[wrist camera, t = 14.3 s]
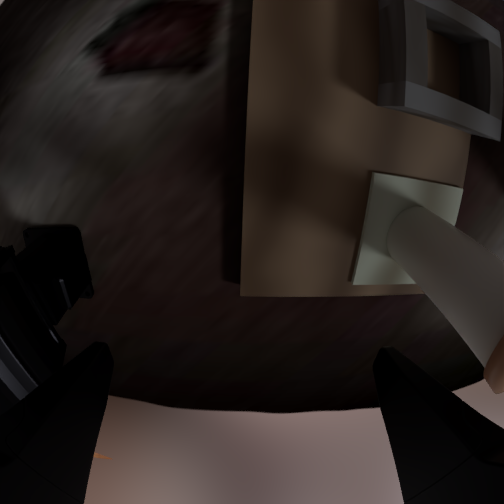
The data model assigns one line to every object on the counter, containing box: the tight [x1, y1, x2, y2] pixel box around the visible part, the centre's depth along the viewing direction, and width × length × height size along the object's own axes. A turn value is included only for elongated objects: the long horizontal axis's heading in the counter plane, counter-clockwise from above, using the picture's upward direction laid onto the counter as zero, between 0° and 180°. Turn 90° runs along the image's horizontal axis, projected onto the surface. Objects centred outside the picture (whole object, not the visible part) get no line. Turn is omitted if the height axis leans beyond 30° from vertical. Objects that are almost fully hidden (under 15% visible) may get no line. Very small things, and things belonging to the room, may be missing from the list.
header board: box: [240, 0, 503, 297], centre depth 16 cm, size 17×23×5 cm
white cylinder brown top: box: [387, 206, 504, 394], centre depth 13 cm, size 5×5×13 cm
